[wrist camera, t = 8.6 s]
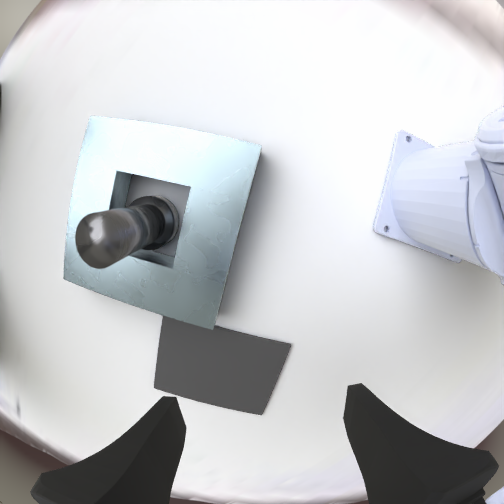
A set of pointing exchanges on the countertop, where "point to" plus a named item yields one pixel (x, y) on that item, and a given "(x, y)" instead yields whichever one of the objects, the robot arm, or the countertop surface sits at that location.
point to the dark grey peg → (125, 231)
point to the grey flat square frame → (194, 222)
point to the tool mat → (218, 365)
